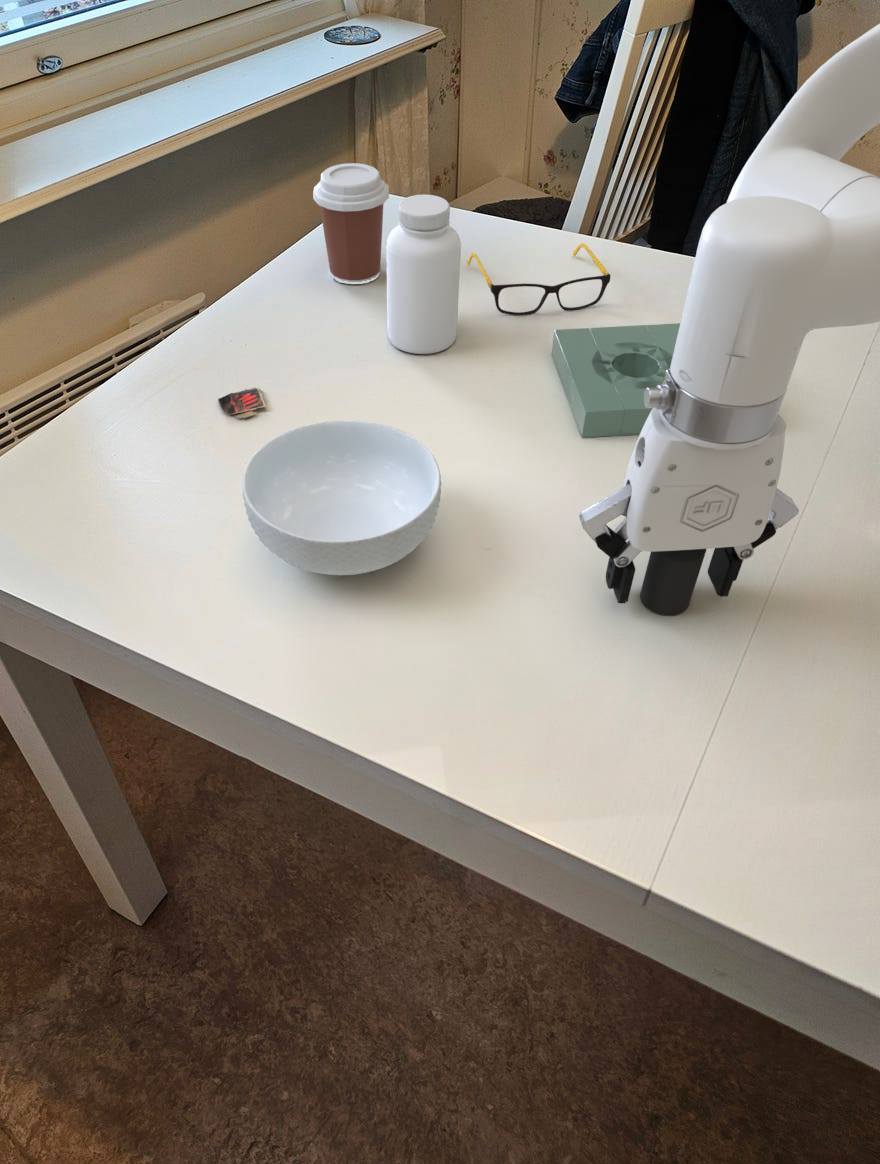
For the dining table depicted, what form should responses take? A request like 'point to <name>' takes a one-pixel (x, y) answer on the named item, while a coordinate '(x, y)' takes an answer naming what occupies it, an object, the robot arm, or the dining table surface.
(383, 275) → the dining table surface
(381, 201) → the coffee cup
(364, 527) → the cereal bowl
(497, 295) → the eyeglasses
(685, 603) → the stopper
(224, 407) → the matchbox
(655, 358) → the plate
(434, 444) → the dining table surface
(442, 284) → the pill bottle
